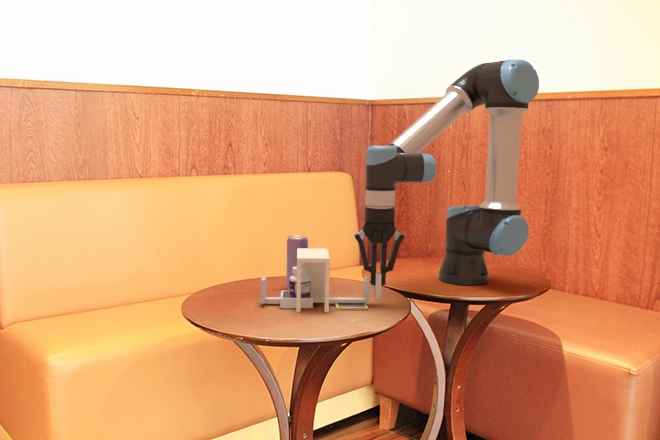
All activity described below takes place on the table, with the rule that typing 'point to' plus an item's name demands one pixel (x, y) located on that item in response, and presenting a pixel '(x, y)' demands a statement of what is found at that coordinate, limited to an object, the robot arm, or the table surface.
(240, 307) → the table surface
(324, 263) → the tunnel
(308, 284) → the pill bottle
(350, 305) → the tray
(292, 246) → the beverage can
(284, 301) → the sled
